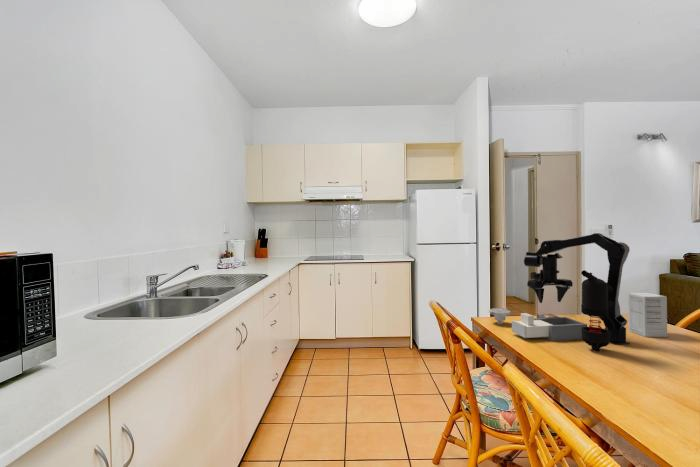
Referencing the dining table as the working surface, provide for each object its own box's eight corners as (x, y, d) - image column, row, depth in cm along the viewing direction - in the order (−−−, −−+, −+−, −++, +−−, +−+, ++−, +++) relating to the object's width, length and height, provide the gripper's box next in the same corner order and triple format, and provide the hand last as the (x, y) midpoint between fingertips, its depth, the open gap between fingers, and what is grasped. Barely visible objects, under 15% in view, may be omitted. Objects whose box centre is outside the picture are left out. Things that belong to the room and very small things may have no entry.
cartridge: (554, 336, 142) (554, 316, 142) (524, 337, 140) (524, 317, 140) (540, 330, 151) (540, 311, 151) (511, 331, 149) (511, 312, 149)
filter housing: (587, 338, 142) (587, 324, 142) (551, 340, 140) (551, 326, 140) (555, 326, 160) (555, 313, 160) (523, 328, 158) (523, 315, 158)
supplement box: (668, 337, 143) (668, 296, 143) (645, 337, 143) (645, 296, 143) (648, 330, 153) (648, 292, 152) (627, 330, 153) (627, 292, 153)
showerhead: (516, 309, 164) (500, 311, 160) (516, 324, 164) (500, 327, 160) (499, 305, 173) (484, 307, 168) (499, 320, 173) (485, 322, 168)
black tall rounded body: (594, 355, 124) (594, 271, 123) (572, 347, 133) (572, 269, 132) (625, 352, 126) (625, 270, 126) (602, 344, 135) (602, 267, 135)
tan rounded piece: (556, 326, 154) (556, 317, 154) (548, 327, 153) (548, 317, 153) (550, 324, 158) (550, 314, 158) (541, 324, 158) (541, 315, 158)
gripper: (555, 265, 166) (555, 298, 166) (519, 266, 163) (519, 299, 163) (573, 268, 155) (573, 302, 155) (535, 269, 152) (535, 304, 152)
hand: (549, 302), depth 157 cm, fingers open, 9 cm apart
